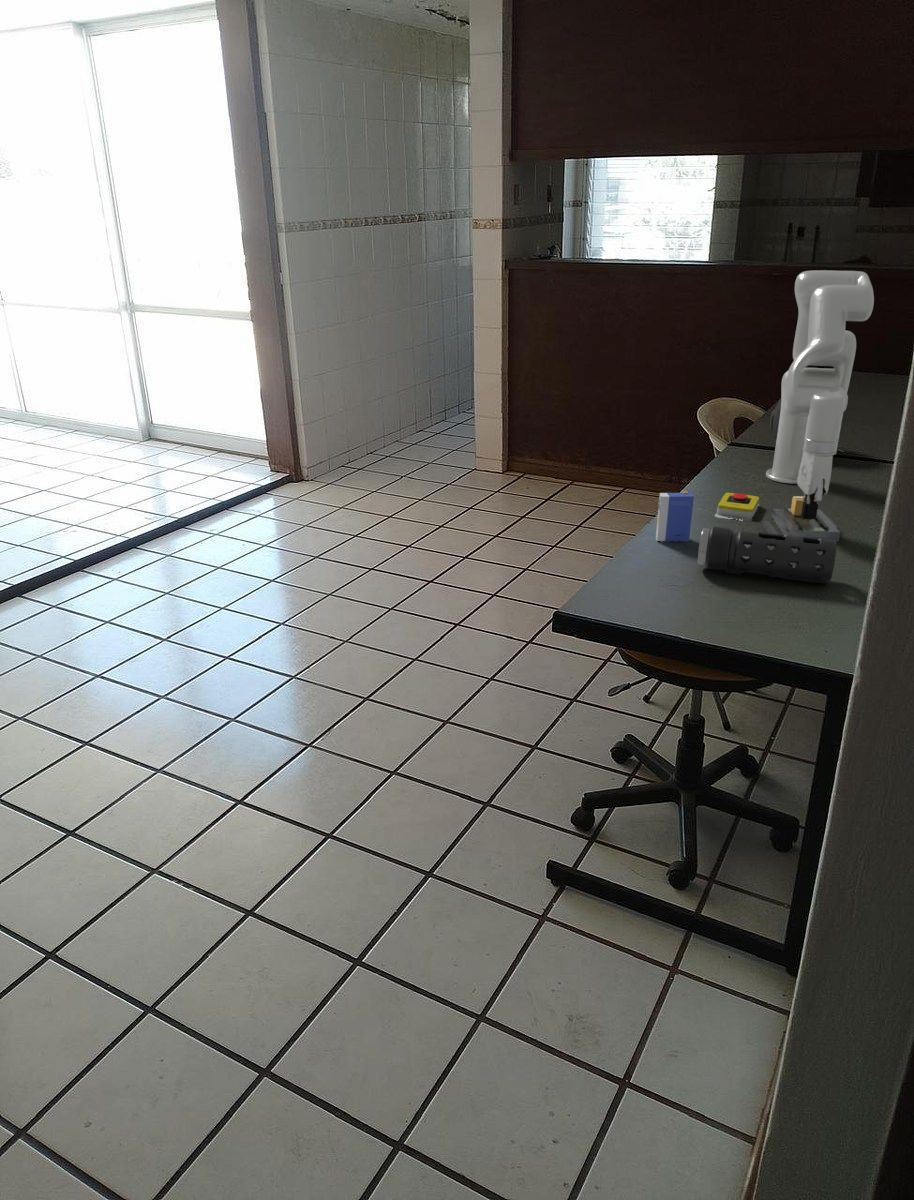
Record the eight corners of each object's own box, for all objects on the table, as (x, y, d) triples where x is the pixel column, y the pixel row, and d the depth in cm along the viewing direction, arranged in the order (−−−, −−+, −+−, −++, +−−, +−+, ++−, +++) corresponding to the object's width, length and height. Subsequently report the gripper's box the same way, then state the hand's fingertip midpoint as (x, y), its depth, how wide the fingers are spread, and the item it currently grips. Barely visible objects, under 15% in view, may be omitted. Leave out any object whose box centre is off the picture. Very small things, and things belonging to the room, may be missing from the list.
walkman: (686, 537, 222) (691, 491, 217) (688, 541, 220) (694, 495, 214) (654, 537, 222) (658, 491, 217) (656, 542, 220) (660, 495, 215)
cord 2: (822, 521, 231) (822, 516, 231) (827, 521, 231) (828, 516, 231) (832, 532, 224) (832, 527, 223) (837, 532, 224) (838, 527, 223)
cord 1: (762, 526, 228) (763, 520, 228) (768, 526, 228) (769, 521, 228) (777, 547, 216) (778, 541, 215) (783, 547, 216) (784, 541, 215)
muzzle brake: (829, 593, 193) (837, 548, 188) (695, 577, 201) (700, 533, 197) (828, 575, 201) (836, 532, 197) (699, 561, 209) (704, 519, 205)
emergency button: (762, 490, 241) (752, 508, 229) (759, 506, 243) (750, 524, 231) (726, 486, 245) (715, 503, 233) (724, 501, 247) (713, 519, 235)
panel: (771, 517, 234) (773, 506, 232) (818, 518, 233) (820, 507, 232) (788, 541, 219) (790, 529, 218) (838, 541, 219) (840, 529, 217)
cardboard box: (790, 511, 230) (793, 495, 228) (808, 511, 230) (810, 495, 228) (793, 515, 227) (796, 499, 225) (811, 515, 227) (814, 499, 225)
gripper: (795, 437, 222) (784, 507, 230) (813, 454, 209) (801, 528, 216) (826, 437, 222) (814, 508, 229) (846, 454, 208) (833, 529, 216)
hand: (808, 517), depth 223 cm, fingers closed
